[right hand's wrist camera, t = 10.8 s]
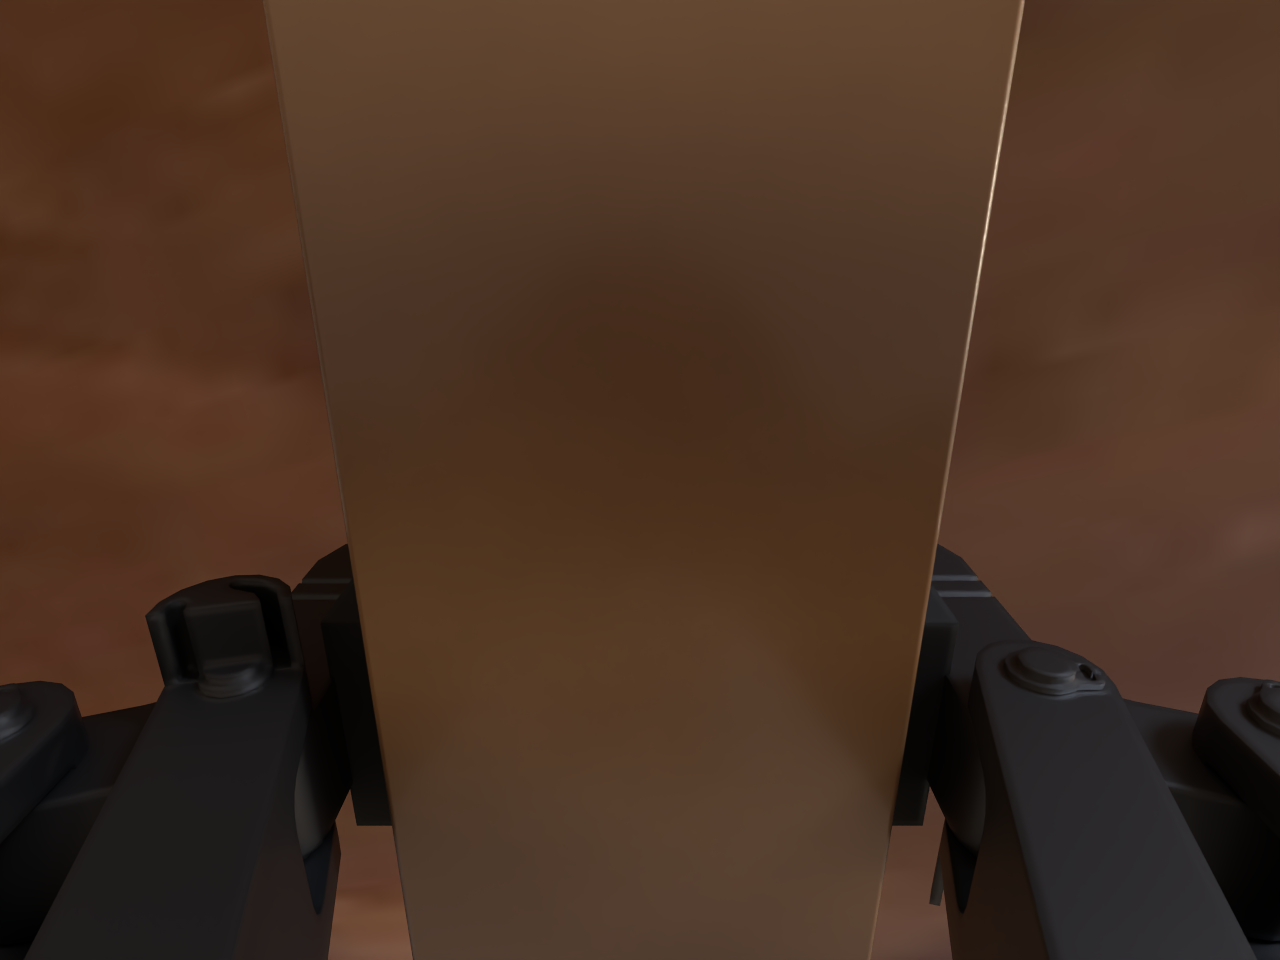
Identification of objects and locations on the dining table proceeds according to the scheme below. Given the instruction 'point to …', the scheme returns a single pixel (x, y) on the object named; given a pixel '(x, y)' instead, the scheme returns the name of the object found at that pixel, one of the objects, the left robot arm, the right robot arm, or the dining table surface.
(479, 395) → the bar
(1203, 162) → the dining table surface
